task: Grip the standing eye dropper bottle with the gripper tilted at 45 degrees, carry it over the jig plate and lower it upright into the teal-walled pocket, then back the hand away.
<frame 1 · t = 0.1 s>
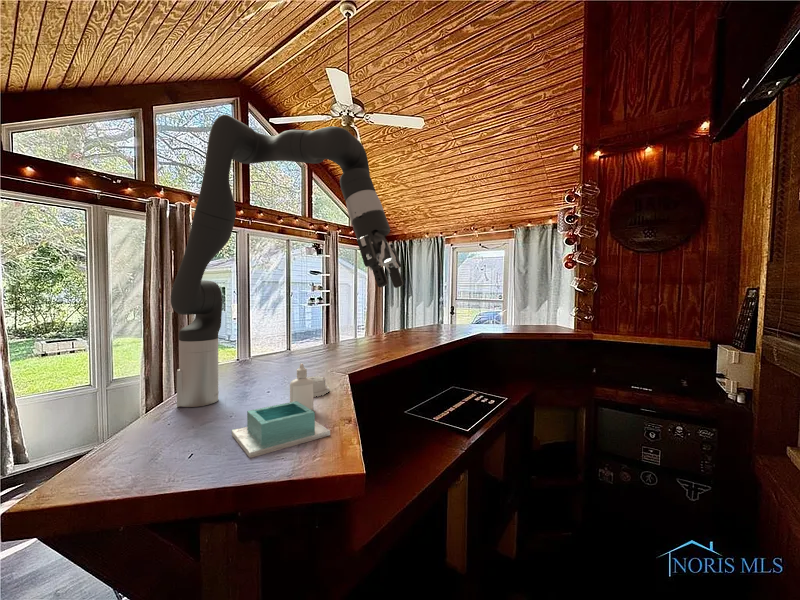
hand: (391, 286, 72), 31 cm above the table, tool tilted 20°, fingers open, 8 cm apart
jig: (280, 435, 72), on the table
eye dropper bottle: (301, 411, 87), on the table
mechanical component: (312, 393, 103), on the table
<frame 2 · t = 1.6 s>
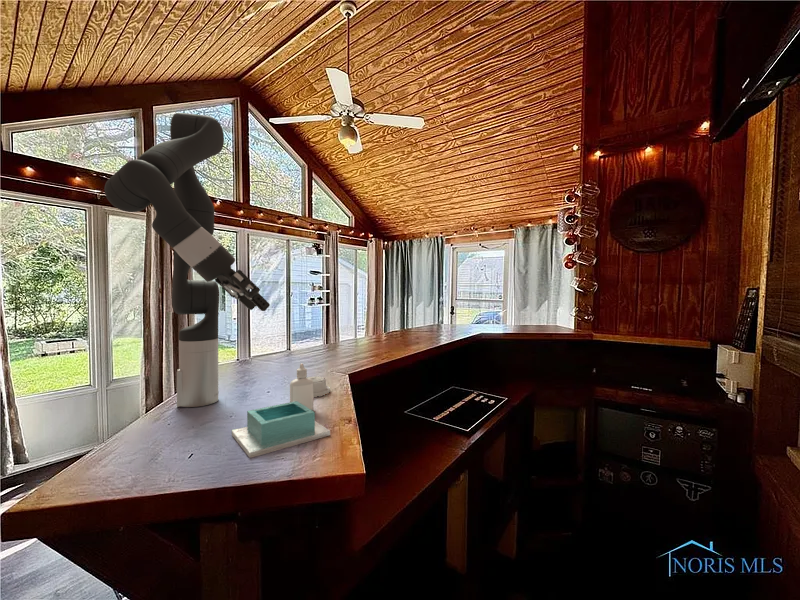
hand: (260, 307, 80), 26 cm above the table, tool tilted 45°, fingers open, 8 cm apart
nothing on the table moved.
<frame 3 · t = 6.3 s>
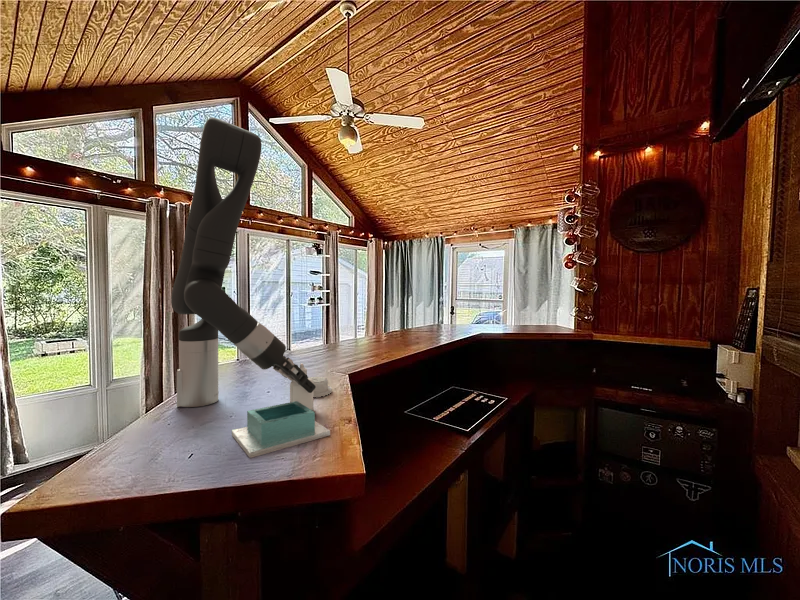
hand: (309, 387, 88), 6 cm above the table, tool tilted 45°, fingers closed on eye dropper bottle, 3 cm apart
eye dropper bottle: (301, 411, 87), on the table, touching gripper
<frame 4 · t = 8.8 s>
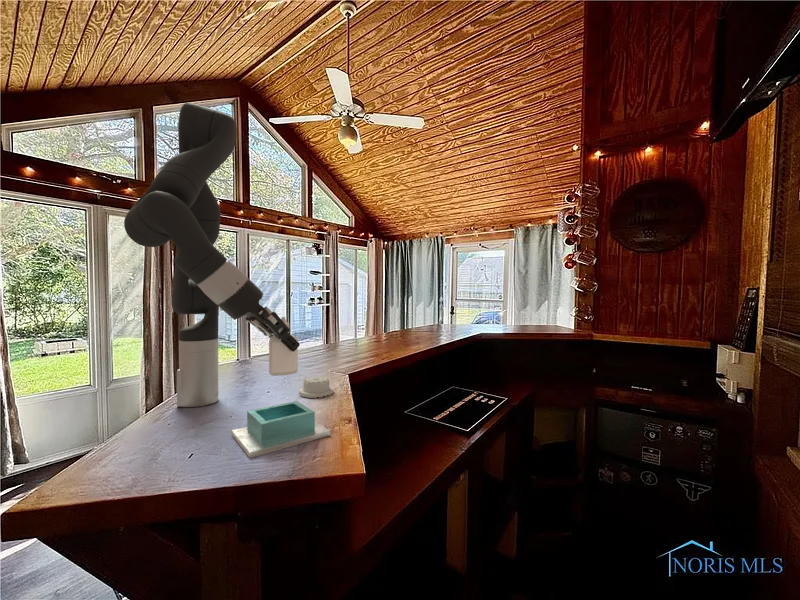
hand: (292, 346, 73), 18 cm above the table, tool tilted 45°, fingers closed on eye dropper bottle, 3 cm apart
eye dropper bottle: (283, 374, 72), point 13 cm above the table, touching gripper
when the fingers open (8 cm above the table, at t = 11.6 s): eye dropper bottle drops 1 cm, resting on jig.
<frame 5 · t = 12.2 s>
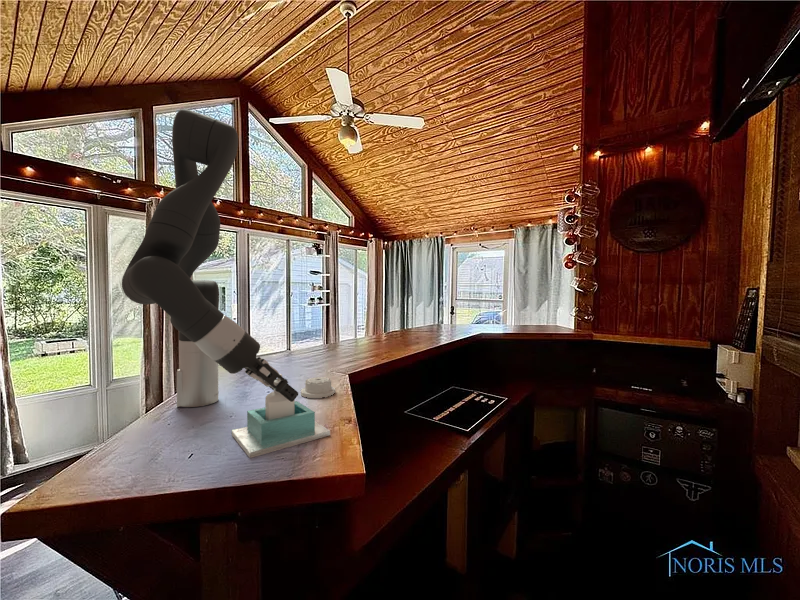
hand: (287, 392, 72), 9 cm above the table, tool tilted 45°, fingers open, 8 cm apart
eye dropper bottle: (280, 430, 72), point 1 cm above the table, touching jig
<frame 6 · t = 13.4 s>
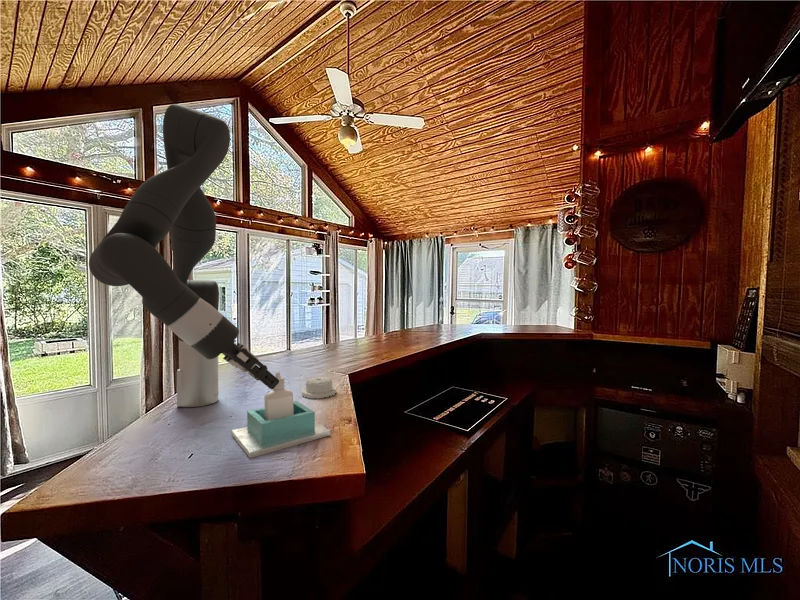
hand: (268, 380, 70), 12 cm above the table, tool tilted 45°, fingers open, 8 cm apart
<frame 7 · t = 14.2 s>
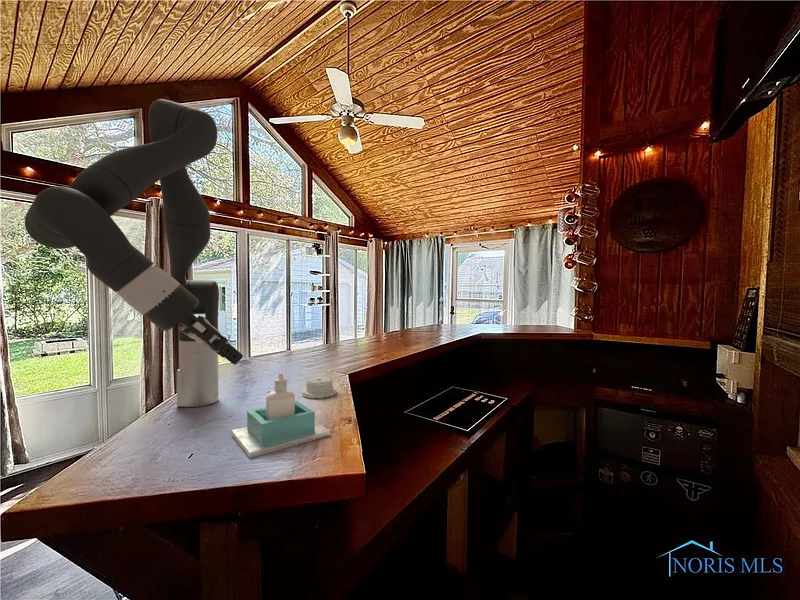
hand: (232, 357, 66), 18 cm above the table, tool tilted 45°, fingers open, 8 cm apart
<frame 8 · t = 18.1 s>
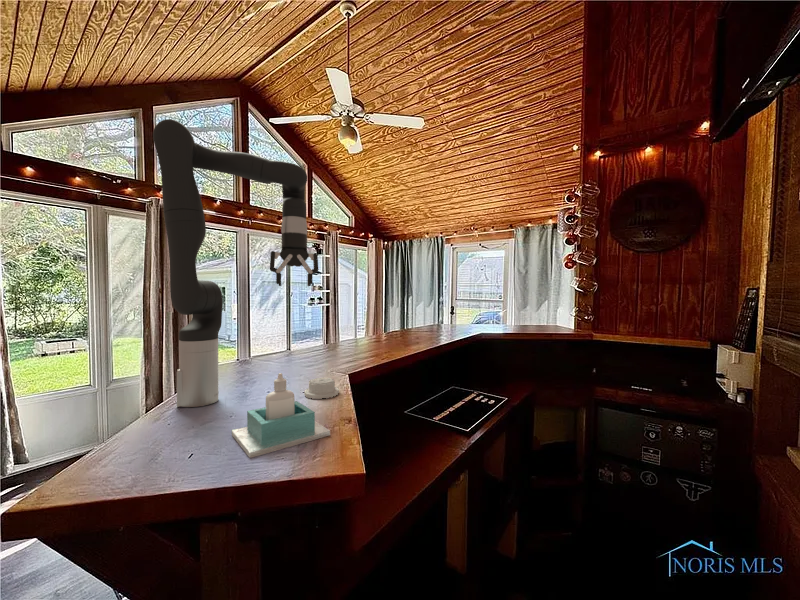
hand: (294, 286, 106), 32 cm above the table, tool pointing down, fingers open, 8 cm apart
at the end: eye dropper bottle 0.1 cm off-centre on the jig, point 0.8 cm above the jig's base; eye dropper bottle tilted 0°; the gripper is holding nothing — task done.
